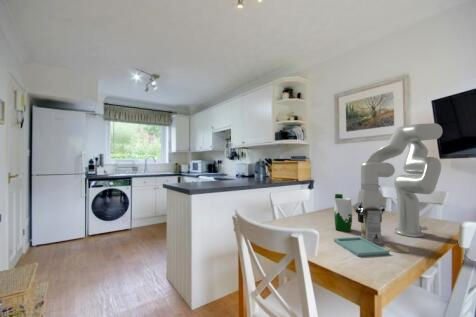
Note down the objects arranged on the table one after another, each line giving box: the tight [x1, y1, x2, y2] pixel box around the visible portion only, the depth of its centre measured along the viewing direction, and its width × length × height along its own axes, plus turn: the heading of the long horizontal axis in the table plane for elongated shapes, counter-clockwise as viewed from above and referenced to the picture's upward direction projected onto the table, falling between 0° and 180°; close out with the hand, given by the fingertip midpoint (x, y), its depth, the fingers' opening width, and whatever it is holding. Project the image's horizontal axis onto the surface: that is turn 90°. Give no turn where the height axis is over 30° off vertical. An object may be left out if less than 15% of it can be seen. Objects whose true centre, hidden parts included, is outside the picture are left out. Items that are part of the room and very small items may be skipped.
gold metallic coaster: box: [383, 243, 410, 254], centre depth 100 cm, size 9×9×1 cm
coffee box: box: [360, 209, 382, 244], centre depth 111 cm, size 9×6×16 cm
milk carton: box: [333, 193, 353, 233], centre depth 129 cm, size 9×9×20 cm
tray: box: [333, 236, 390, 258], centre depth 102 cm, size 14×18×2 cm
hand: (369, 222), depth 111 cm, fingers open, 9 cm apart
